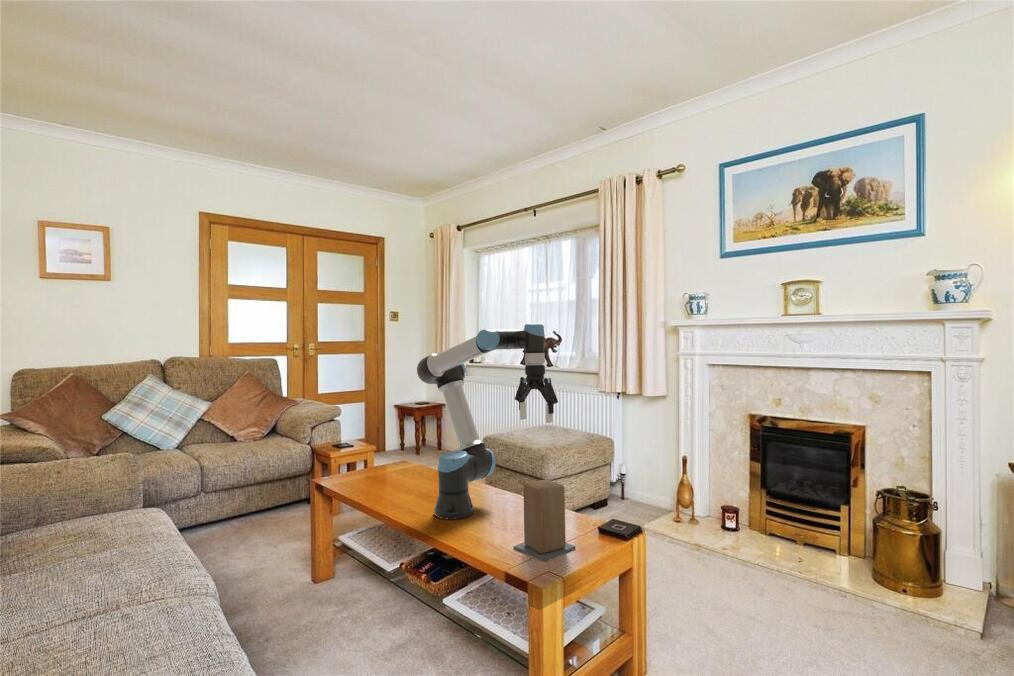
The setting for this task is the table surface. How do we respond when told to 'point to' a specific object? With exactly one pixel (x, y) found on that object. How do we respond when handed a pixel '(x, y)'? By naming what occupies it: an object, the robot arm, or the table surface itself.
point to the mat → (545, 556)
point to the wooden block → (544, 516)
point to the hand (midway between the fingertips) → (535, 421)
